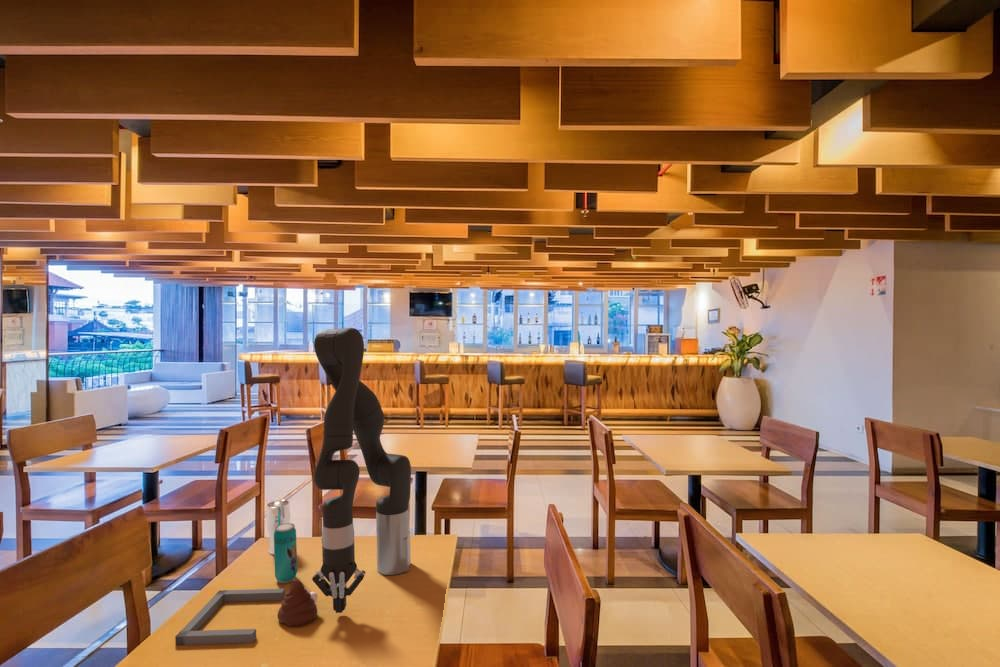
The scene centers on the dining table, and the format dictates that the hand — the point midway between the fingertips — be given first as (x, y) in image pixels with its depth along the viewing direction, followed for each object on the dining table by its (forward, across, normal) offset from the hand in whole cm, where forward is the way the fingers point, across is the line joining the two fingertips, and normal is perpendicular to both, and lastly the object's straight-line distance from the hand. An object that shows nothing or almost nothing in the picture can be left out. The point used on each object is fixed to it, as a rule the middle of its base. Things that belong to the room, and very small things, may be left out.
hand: (339, 611), depth 130 cm
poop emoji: (+1, +10, 0) cm, 10 cm away
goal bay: (+1, +25, 0) cm, 25 cm away
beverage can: (+1, +20, -19) cm, 28 cm away
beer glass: (+1, +29, -38) cm, 48 cm away
